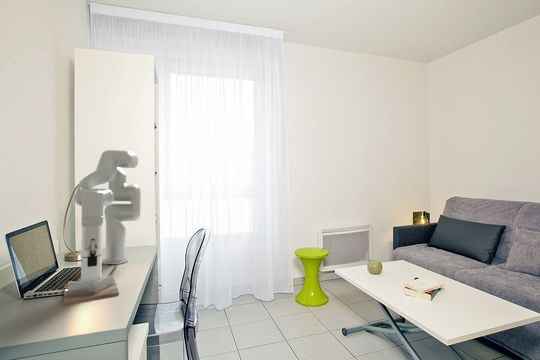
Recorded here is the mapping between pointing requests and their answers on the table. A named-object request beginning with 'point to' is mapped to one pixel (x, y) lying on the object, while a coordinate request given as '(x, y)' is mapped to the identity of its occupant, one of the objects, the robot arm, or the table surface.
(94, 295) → the v cradle
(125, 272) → the table surface
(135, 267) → the table surface
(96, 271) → the cylindrical container
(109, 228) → the robot arm
